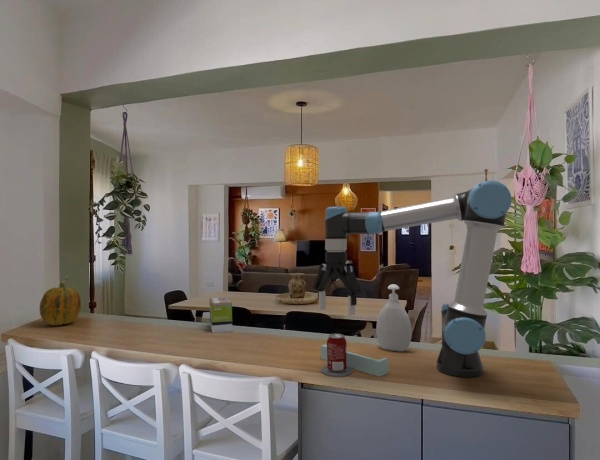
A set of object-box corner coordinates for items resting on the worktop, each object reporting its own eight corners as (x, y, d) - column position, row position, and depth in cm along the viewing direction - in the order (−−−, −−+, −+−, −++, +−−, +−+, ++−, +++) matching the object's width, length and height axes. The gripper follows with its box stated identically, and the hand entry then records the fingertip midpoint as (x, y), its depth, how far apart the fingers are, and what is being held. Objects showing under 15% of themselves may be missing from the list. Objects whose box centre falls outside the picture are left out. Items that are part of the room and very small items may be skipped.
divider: (387, 373, 138) (387, 358, 138) (379, 376, 135) (379, 361, 135) (329, 355, 158) (329, 343, 158) (320, 358, 155) (320, 345, 155)
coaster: (358, 371, 140) (358, 370, 140) (337, 379, 133) (337, 378, 133) (335, 364, 148) (335, 362, 148) (314, 371, 141) (314, 369, 141)
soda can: (345, 374, 136) (345, 338, 137) (325, 372, 138) (325, 337, 138) (347, 367, 143) (347, 333, 143) (328, 366, 144) (328, 332, 145)
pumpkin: (76, 319, 227) (76, 274, 227) (84, 325, 212) (84, 277, 213) (37, 324, 215) (37, 277, 215) (42, 330, 200) (42, 280, 201)
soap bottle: (414, 349, 167) (413, 283, 167) (409, 354, 160) (409, 286, 160) (379, 344, 174) (379, 282, 174) (374, 349, 166) (373, 284, 167)
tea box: (209, 326, 209) (209, 297, 209) (228, 325, 212) (228, 296, 212) (211, 333, 195) (211, 302, 195) (232, 331, 198) (232, 301, 198)
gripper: (371, 251, 134) (372, 315, 134) (317, 249, 152) (318, 306, 152) (357, 252, 129) (358, 319, 129) (303, 250, 147) (303, 308, 147)
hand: (336, 312), depth 141 cm, fingers open, 13 cm apart
